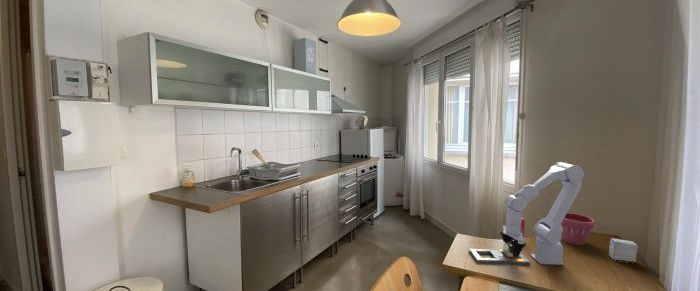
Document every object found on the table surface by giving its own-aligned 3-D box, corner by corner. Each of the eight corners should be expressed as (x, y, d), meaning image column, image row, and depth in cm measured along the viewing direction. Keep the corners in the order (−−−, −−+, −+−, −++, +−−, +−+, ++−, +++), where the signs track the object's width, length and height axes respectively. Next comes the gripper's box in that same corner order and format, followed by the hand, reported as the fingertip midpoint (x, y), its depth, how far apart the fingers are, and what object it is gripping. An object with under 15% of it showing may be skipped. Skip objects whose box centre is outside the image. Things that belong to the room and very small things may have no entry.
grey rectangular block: (512, 256, 127) (513, 241, 127) (517, 261, 123) (518, 246, 122) (502, 256, 128) (503, 241, 127) (507, 261, 123) (508, 245, 122)
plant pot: (550, 238, 147) (552, 214, 145) (564, 233, 153) (566, 210, 152) (583, 250, 134) (586, 224, 133) (597, 244, 141) (600, 219, 139)
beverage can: (525, 243, 141) (527, 220, 139) (511, 241, 142) (513, 219, 141) (520, 237, 147) (522, 215, 145) (507, 236, 148) (509, 214, 147)
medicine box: (630, 259, 126) (633, 241, 125) (635, 264, 122) (638, 245, 121) (608, 255, 129) (610, 237, 128) (612, 260, 125) (614, 241, 124)
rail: (517, 253, 130) (517, 250, 130) (530, 265, 120) (530, 261, 120) (468, 251, 131) (469, 248, 131) (477, 262, 121) (477, 259, 121)
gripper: (496, 216, 131) (494, 244, 132) (512, 229, 116) (510, 260, 118) (512, 217, 130) (510, 244, 132) (530, 229, 116) (527, 260, 118)
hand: (511, 252), depth 125 cm, fingers open, 7 cm apart
